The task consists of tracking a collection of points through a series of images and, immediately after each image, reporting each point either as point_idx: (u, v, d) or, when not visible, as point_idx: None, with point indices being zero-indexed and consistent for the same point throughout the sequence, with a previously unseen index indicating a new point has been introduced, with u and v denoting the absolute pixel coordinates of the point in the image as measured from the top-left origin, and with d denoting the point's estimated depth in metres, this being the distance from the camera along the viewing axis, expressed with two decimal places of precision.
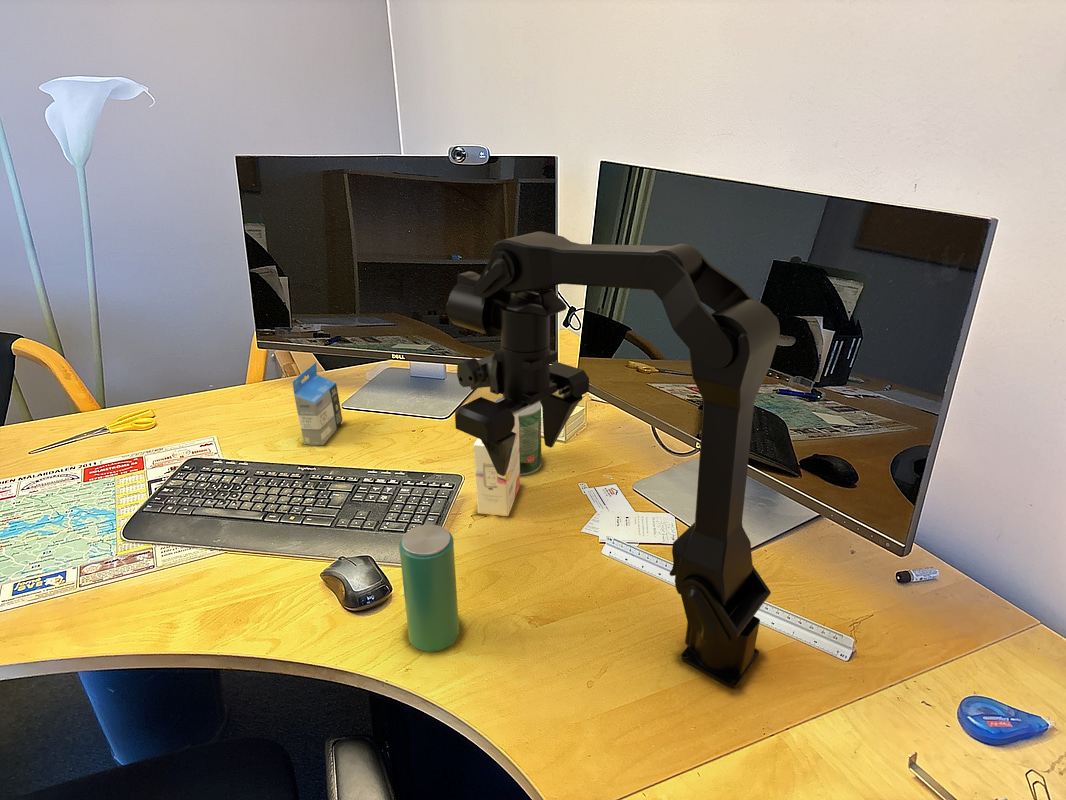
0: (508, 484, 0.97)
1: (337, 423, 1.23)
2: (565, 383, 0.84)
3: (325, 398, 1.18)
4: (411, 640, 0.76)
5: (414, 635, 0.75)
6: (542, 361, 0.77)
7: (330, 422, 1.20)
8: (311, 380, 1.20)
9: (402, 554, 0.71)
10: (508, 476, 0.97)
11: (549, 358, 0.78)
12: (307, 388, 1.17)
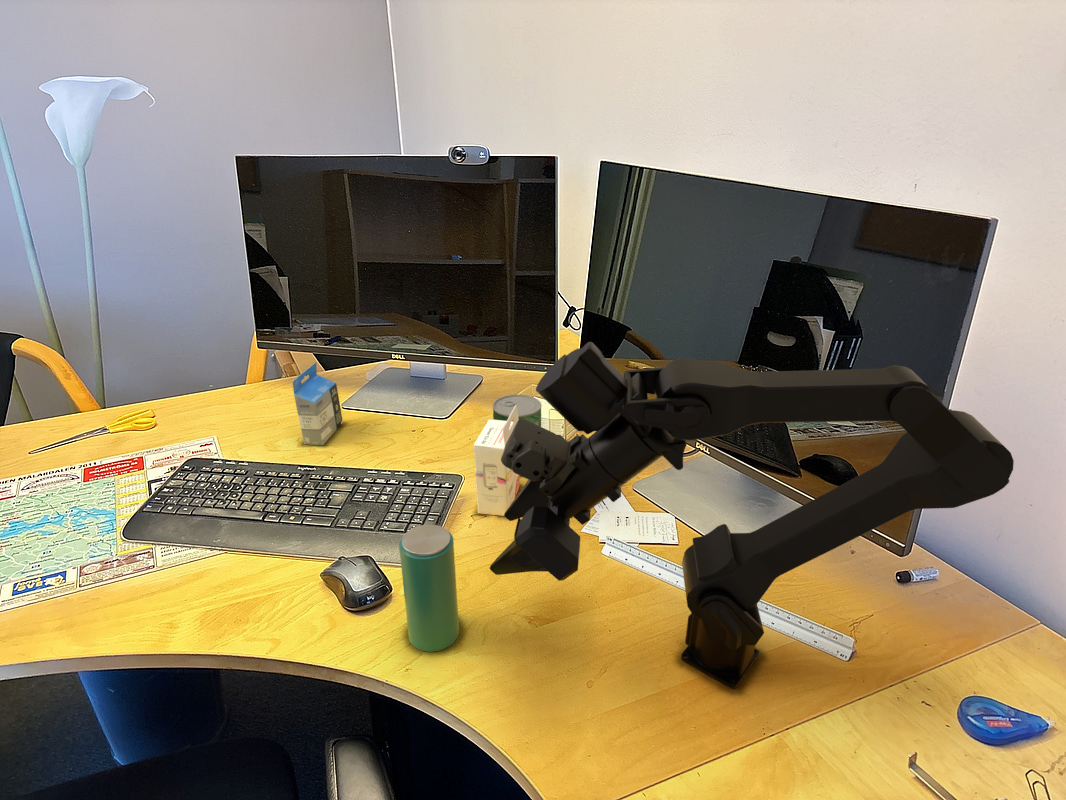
0: (508, 484, 0.97)
1: (337, 423, 1.23)
2: None
3: (325, 398, 1.18)
4: (411, 640, 0.76)
5: (414, 635, 0.75)
6: None
7: (330, 422, 1.20)
8: (311, 380, 1.20)
9: (402, 554, 0.71)
10: (508, 476, 0.97)
11: None
12: (307, 388, 1.17)
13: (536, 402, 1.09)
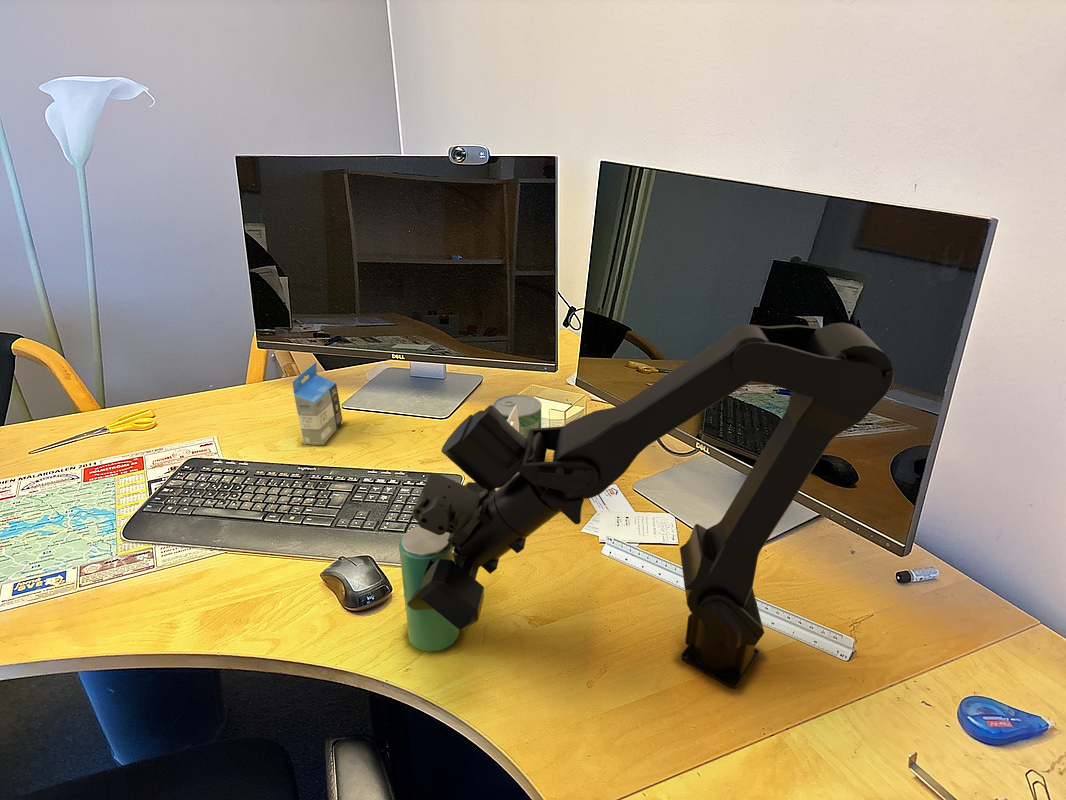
0: None
1: (337, 423, 1.23)
2: None
3: (324, 398, 1.18)
4: (411, 640, 0.76)
5: (414, 635, 0.75)
6: None
7: (330, 422, 1.20)
8: (311, 380, 1.20)
9: (402, 554, 0.71)
10: None
11: None
12: (307, 388, 1.17)
13: (536, 402, 1.09)
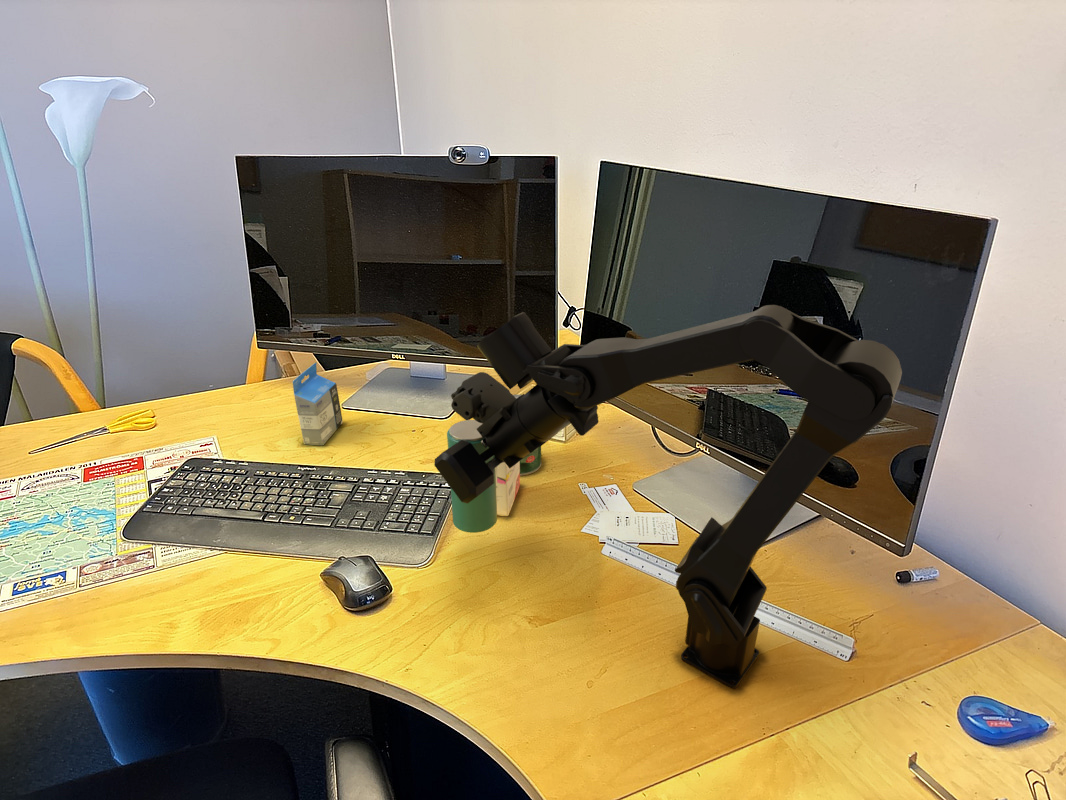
0: (508, 484, 0.97)
1: (337, 423, 1.23)
2: None
3: (325, 398, 1.18)
4: None
5: (453, 513, 0.86)
6: (543, 442, 0.77)
7: (330, 422, 1.20)
8: (311, 380, 1.20)
9: (447, 436, 0.82)
10: (508, 476, 0.97)
11: None
12: (307, 388, 1.17)
13: None
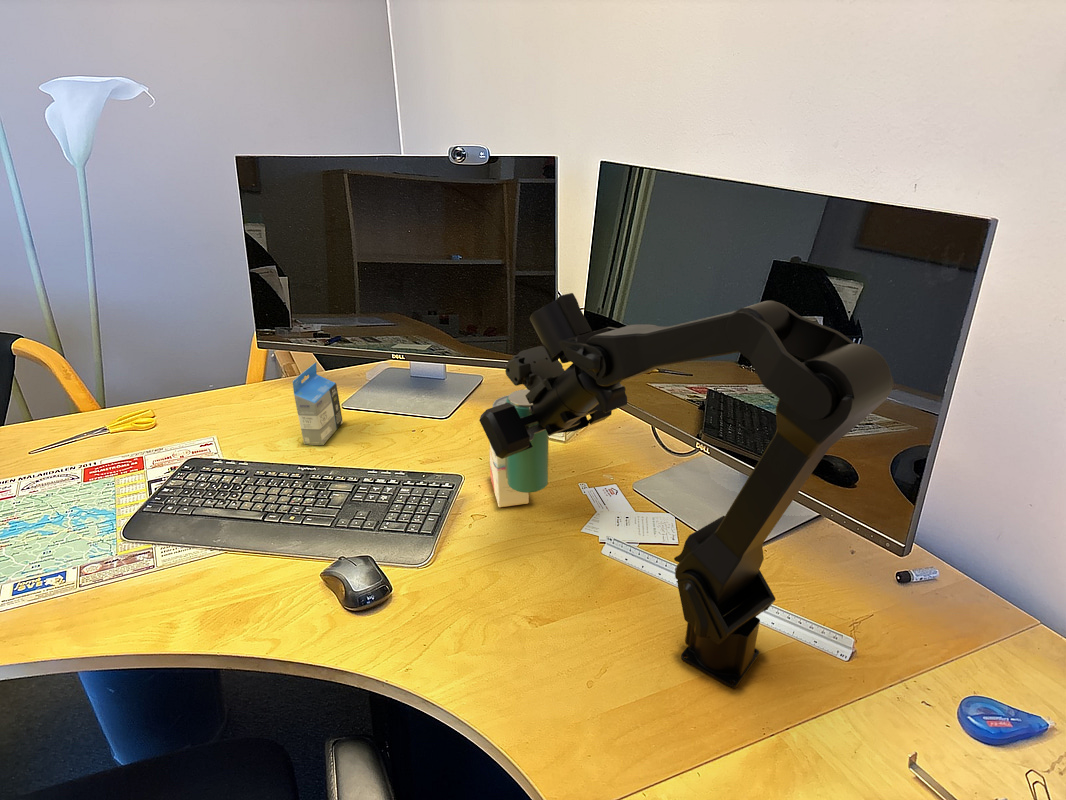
0: None
1: (337, 423, 1.23)
2: None
3: (325, 398, 1.18)
4: None
5: (507, 471, 0.95)
6: (580, 416, 0.82)
7: (330, 422, 1.20)
8: (311, 380, 1.20)
9: None
10: None
11: (587, 414, 0.83)
12: (307, 388, 1.17)
13: None
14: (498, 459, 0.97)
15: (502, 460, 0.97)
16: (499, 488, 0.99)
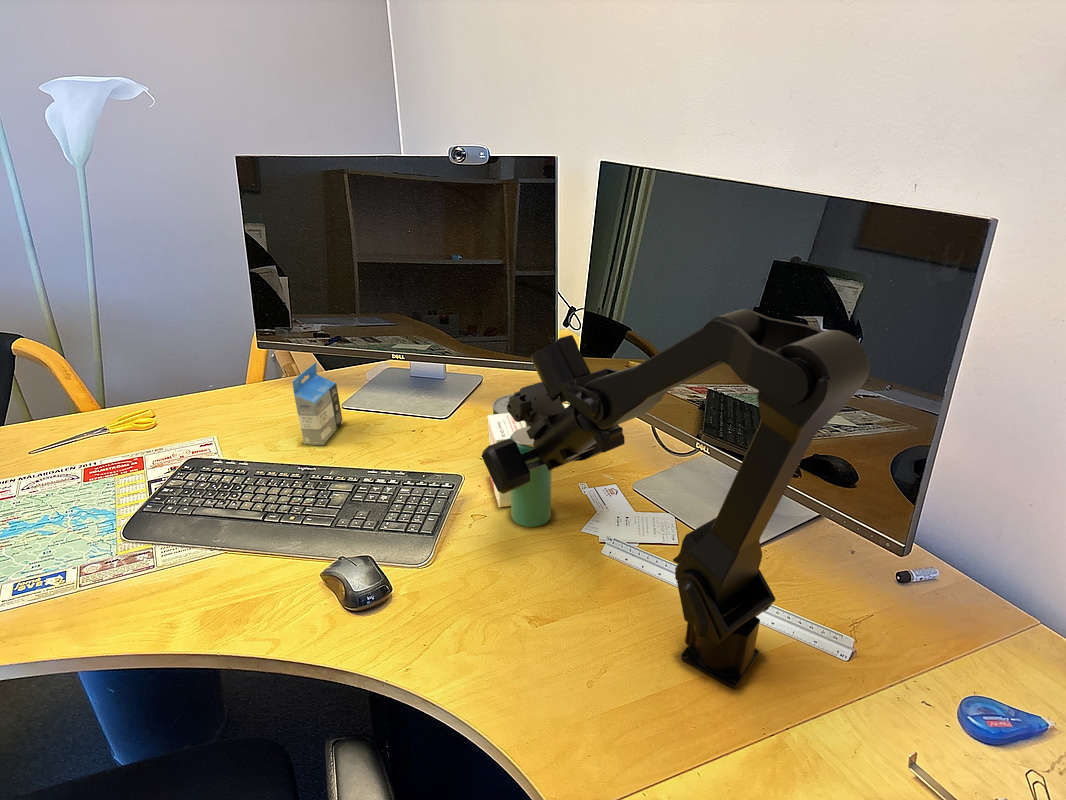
0: None
1: (337, 423, 1.23)
2: None
3: (324, 398, 1.18)
4: None
5: (511, 505, 0.98)
6: (579, 453, 0.85)
7: (330, 422, 1.20)
8: (311, 380, 1.20)
9: None
10: None
11: (586, 450, 0.86)
12: (307, 388, 1.17)
13: None
14: None
15: None
16: None
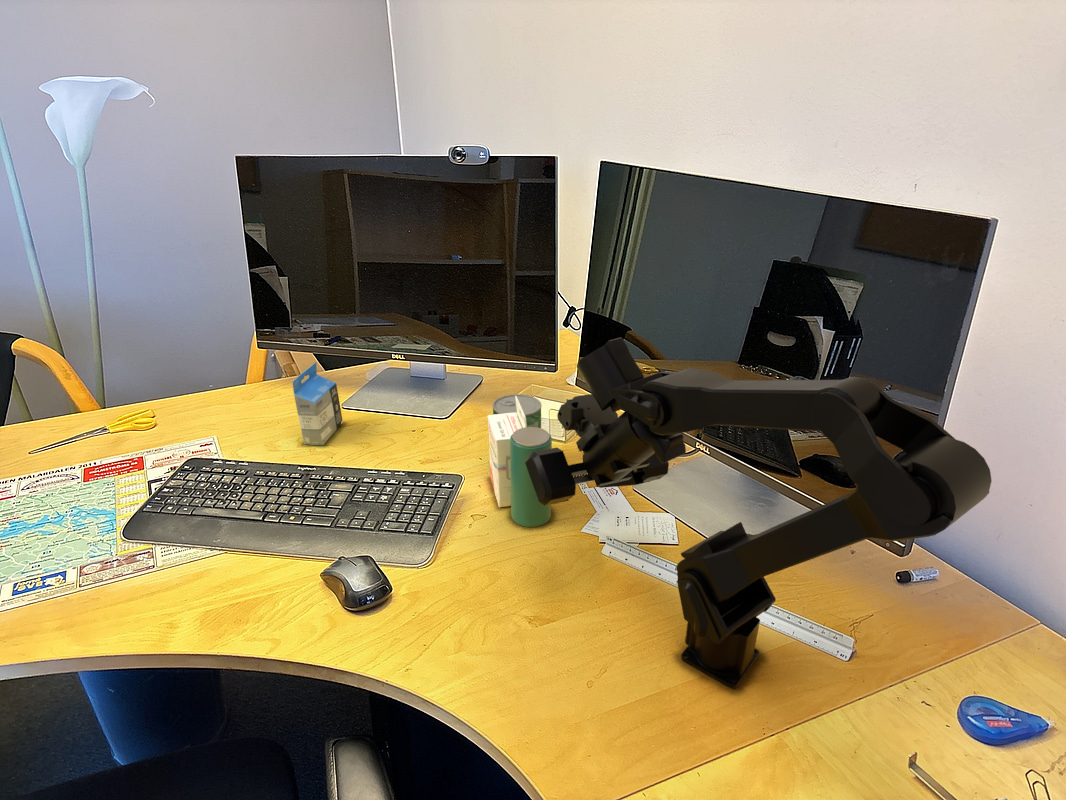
0: None
1: (337, 423, 1.23)
2: (643, 468, 0.84)
3: (324, 398, 1.18)
4: None
5: (511, 505, 0.98)
6: (631, 468, 0.77)
7: (330, 422, 1.20)
8: (311, 380, 1.20)
9: None
10: None
11: (639, 466, 0.78)
12: (307, 388, 1.17)
13: (536, 402, 1.09)
14: (499, 460, 0.97)
15: (503, 461, 0.97)
16: (499, 488, 0.99)
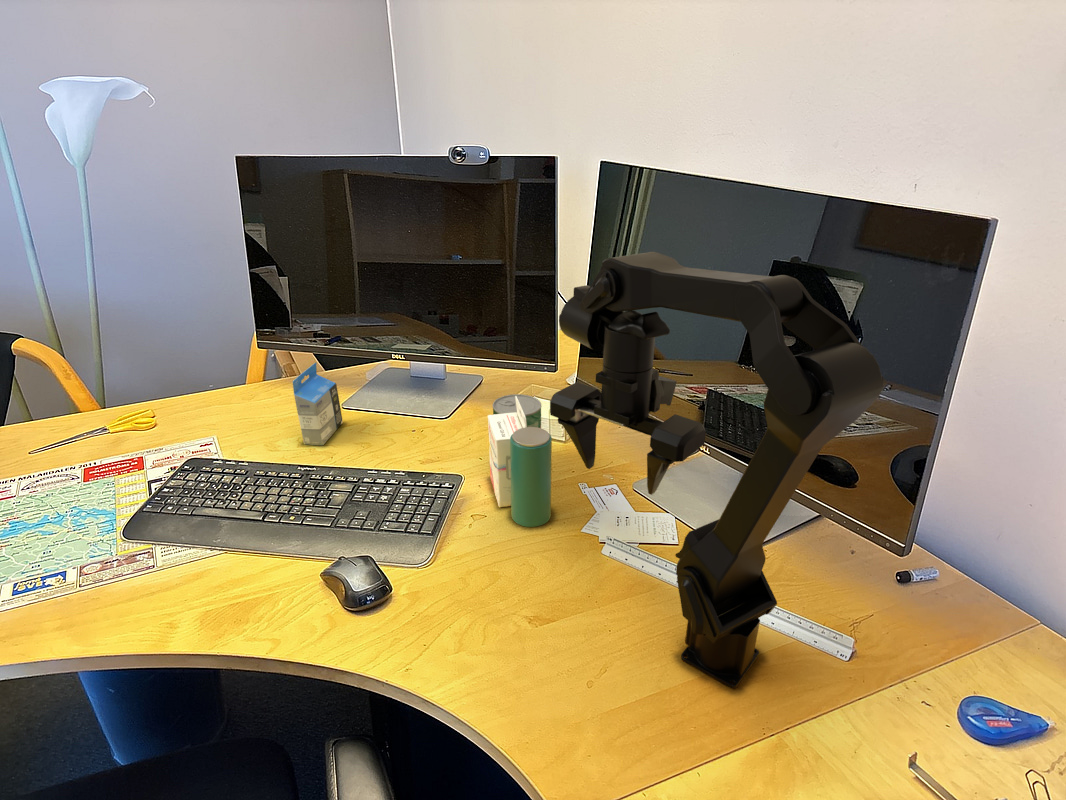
0: None
1: (337, 423, 1.23)
2: None
3: (324, 398, 1.18)
4: None
5: (511, 505, 0.98)
6: (611, 381, 0.76)
7: (330, 422, 1.20)
8: (311, 380, 1.20)
9: None
10: None
11: (620, 384, 0.75)
12: (307, 388, 1.17)
13: (536, 402, 1.09)
14: (499, 460, 0.97)
15: (503, 461, 0.97)
16: (499, 488, 0.99)
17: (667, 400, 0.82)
